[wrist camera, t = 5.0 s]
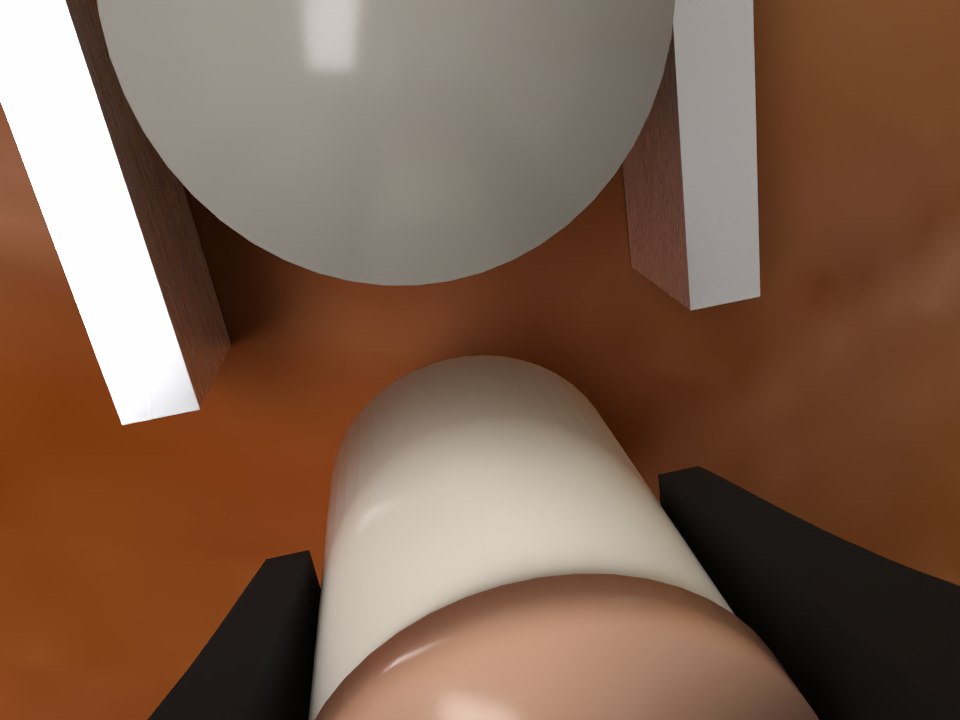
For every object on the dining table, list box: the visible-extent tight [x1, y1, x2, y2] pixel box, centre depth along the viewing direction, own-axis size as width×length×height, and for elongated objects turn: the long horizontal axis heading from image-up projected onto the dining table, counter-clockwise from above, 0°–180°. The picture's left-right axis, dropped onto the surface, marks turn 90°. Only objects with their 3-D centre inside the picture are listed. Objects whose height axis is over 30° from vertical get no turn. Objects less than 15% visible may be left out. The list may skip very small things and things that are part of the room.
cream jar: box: [308, 355, 819, 720], centre depth 10 cm, size 5×5×7 cm
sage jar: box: [97, 0, 675, 285], centre depth 10 cm, size 5×5×7 cm
